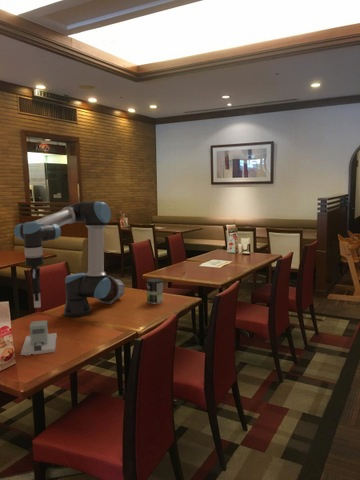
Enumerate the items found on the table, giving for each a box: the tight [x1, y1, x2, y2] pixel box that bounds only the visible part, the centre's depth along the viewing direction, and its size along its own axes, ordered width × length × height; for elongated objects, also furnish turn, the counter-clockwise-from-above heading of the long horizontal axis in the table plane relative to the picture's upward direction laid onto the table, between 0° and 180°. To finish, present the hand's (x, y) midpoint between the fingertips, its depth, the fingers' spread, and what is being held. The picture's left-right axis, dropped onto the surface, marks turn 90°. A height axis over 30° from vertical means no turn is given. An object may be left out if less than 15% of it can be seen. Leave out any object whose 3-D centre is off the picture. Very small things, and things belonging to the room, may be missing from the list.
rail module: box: [29, 319, 49, 346], centre depth 179 cm, size 7×7×9 cm
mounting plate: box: [20, 332, 58, 356], centre depth 180 cm, size 14×20×4 cm
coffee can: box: [146, 277, 164, 305], centre depth 246 cm, size 10×10×14 cm
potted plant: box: [97, 275, 125, 305], centre depth 243 cm, size 18×18×30 cm
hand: (37, 307), depth 178 cm, fingers closed
